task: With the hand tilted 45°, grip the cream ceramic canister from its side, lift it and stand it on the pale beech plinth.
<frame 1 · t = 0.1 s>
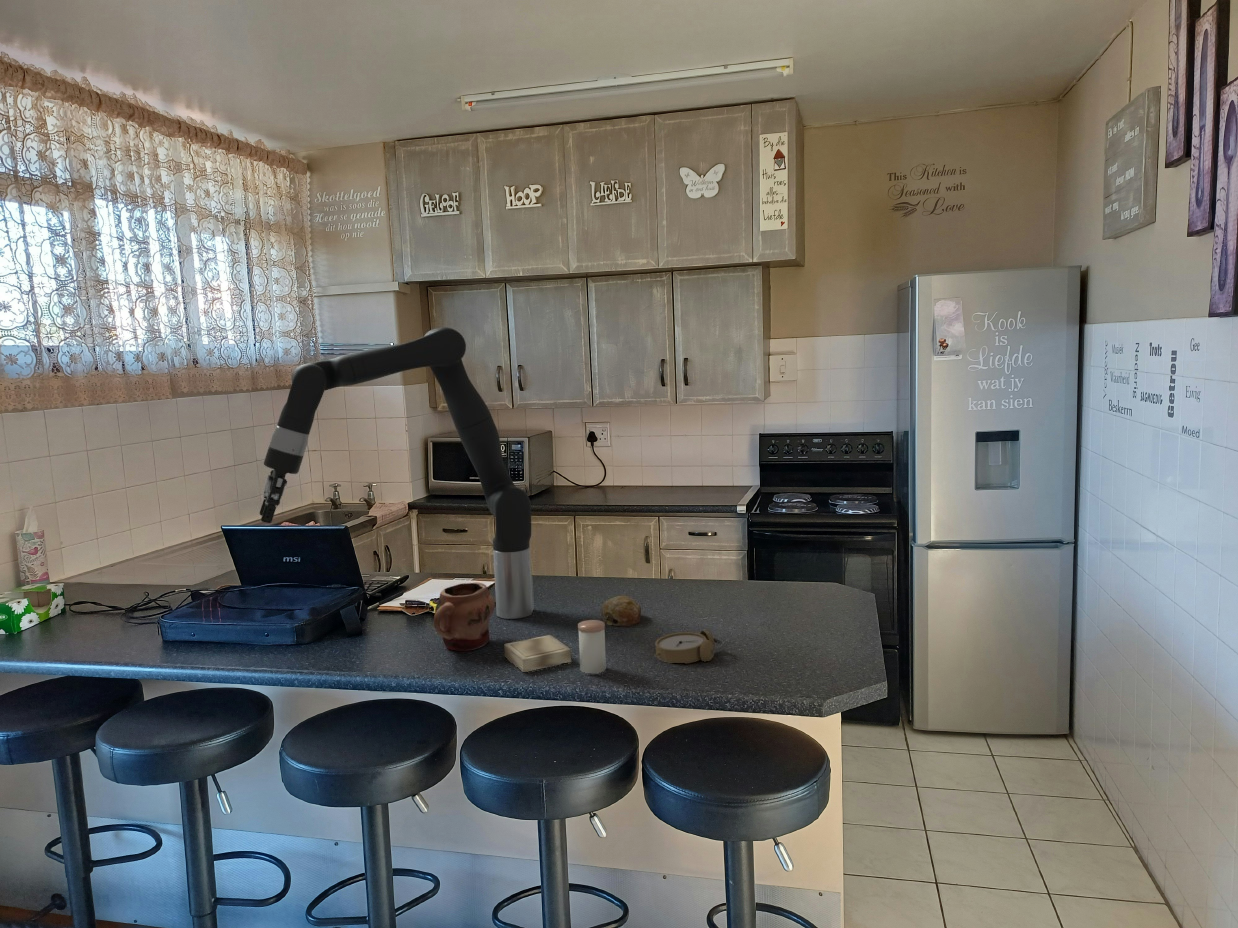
hand: (264, 518, 187), 32 cm above the countertop, tool tilted 20°, fingers open, 8 cm apart
plinth: (537, 659, 183), on the countertop
alarm clock: (689, 657, 183), on the countertop
bread roll: (622, 620, 208), on the countertop
canister: (593, 670, 176), on the countertop
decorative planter: (464, 648, 192), on the countertop
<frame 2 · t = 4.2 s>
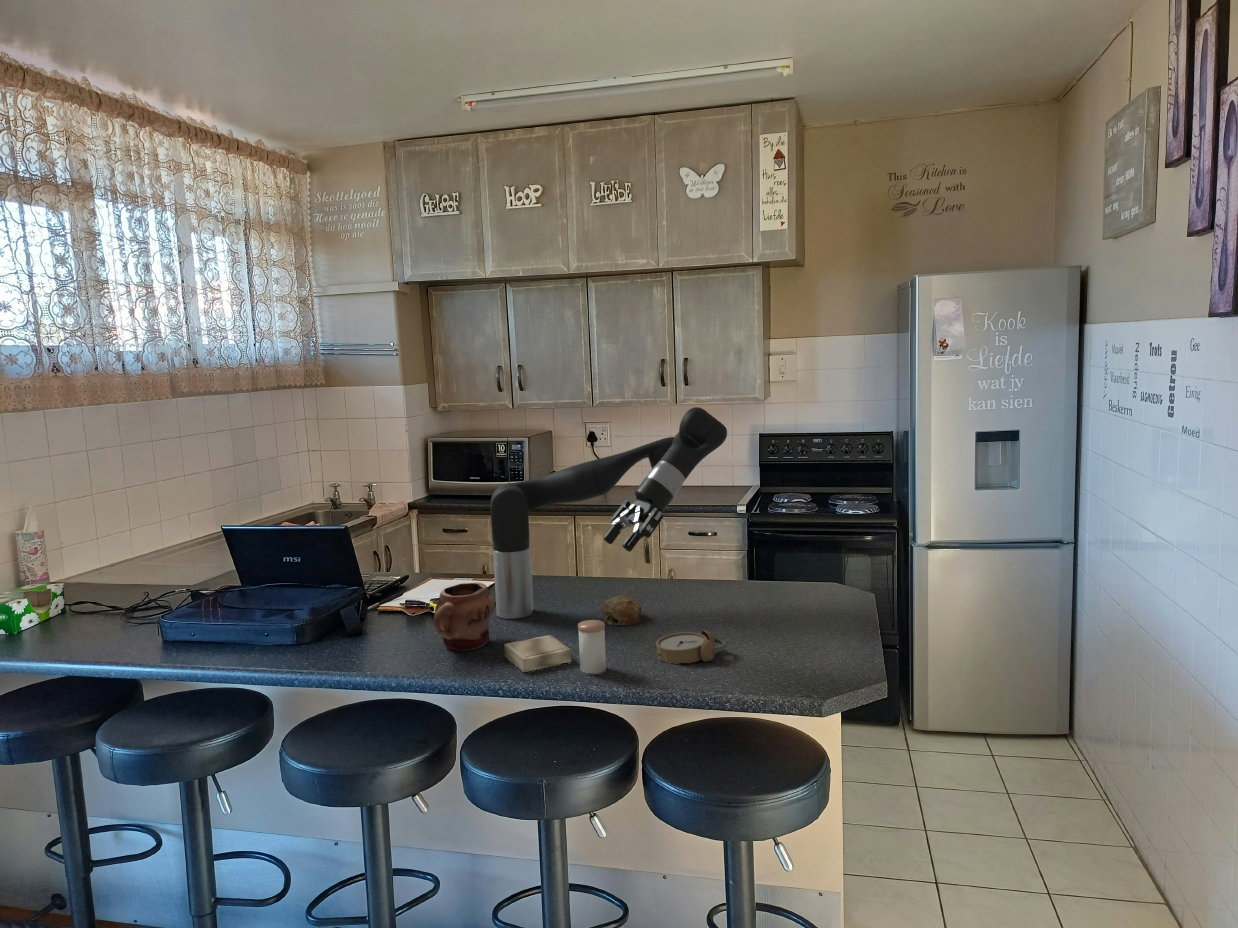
hand: (616, 545, 179), 25 cm above the countertop, tool tilted 45°, fingers open, 8 cm apart
nothing on the countertop moved.
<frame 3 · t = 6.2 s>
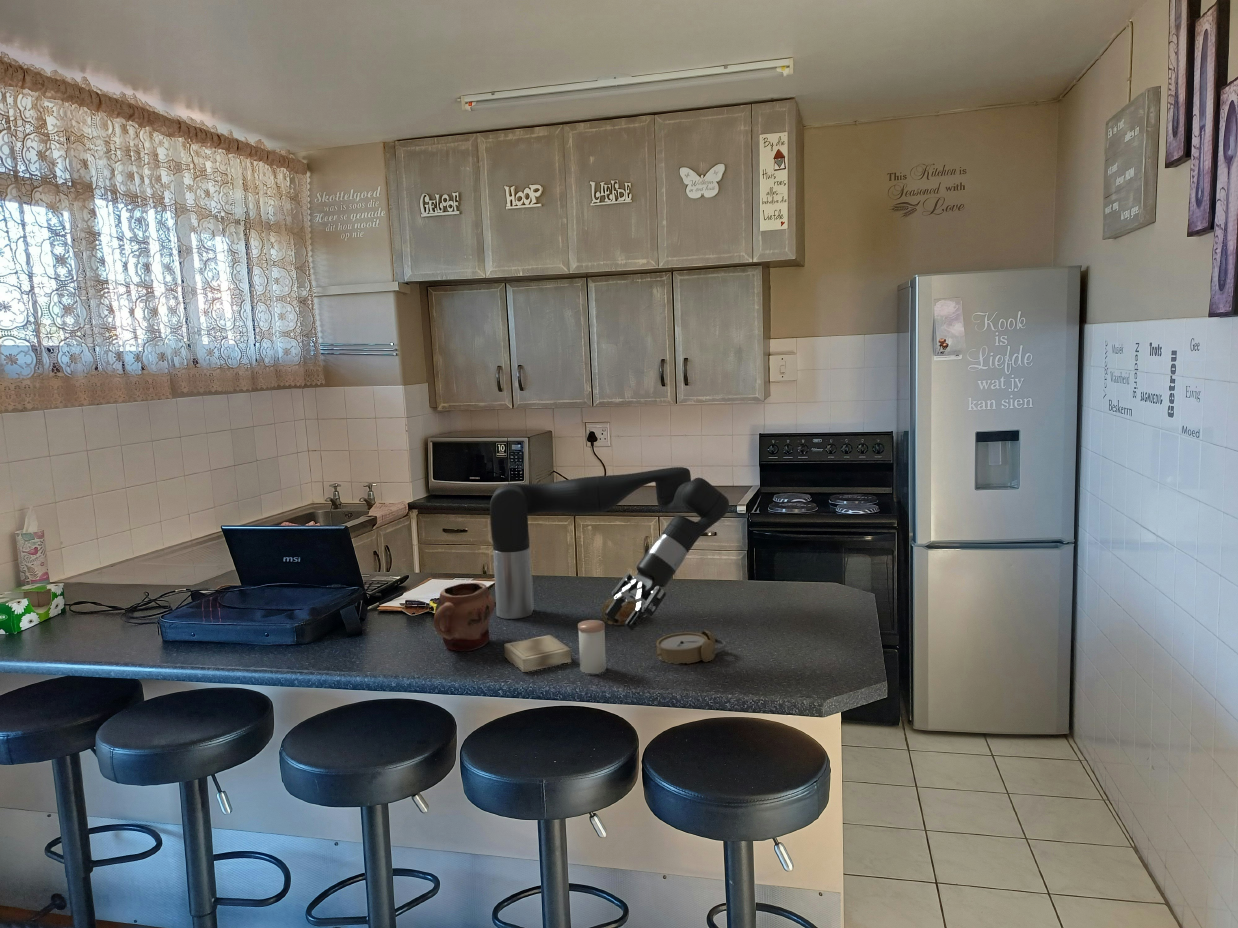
hand: (618, 622, 177), 10 cm above the countertop, tool tilted 45°, fingers open, 8 cm apart
nothing on the countertop moved.
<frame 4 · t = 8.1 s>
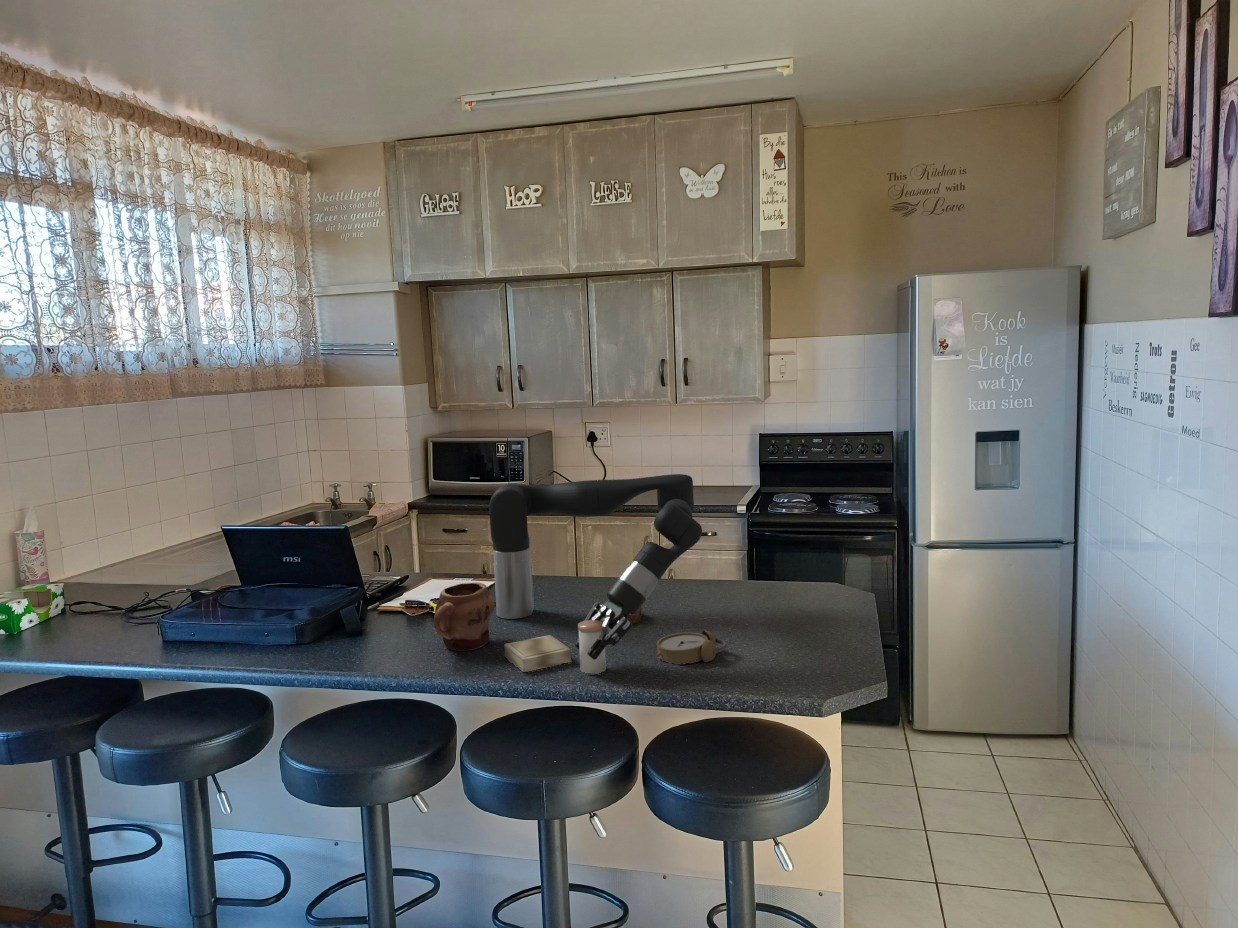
hand: (584, 652, 174), 4 cm above the countertop, tool tilted 45°, fingers closed on canister, 5 cm apart
canister: (593, 670, 176), on the countertop, touching gripper
everything else where it was.
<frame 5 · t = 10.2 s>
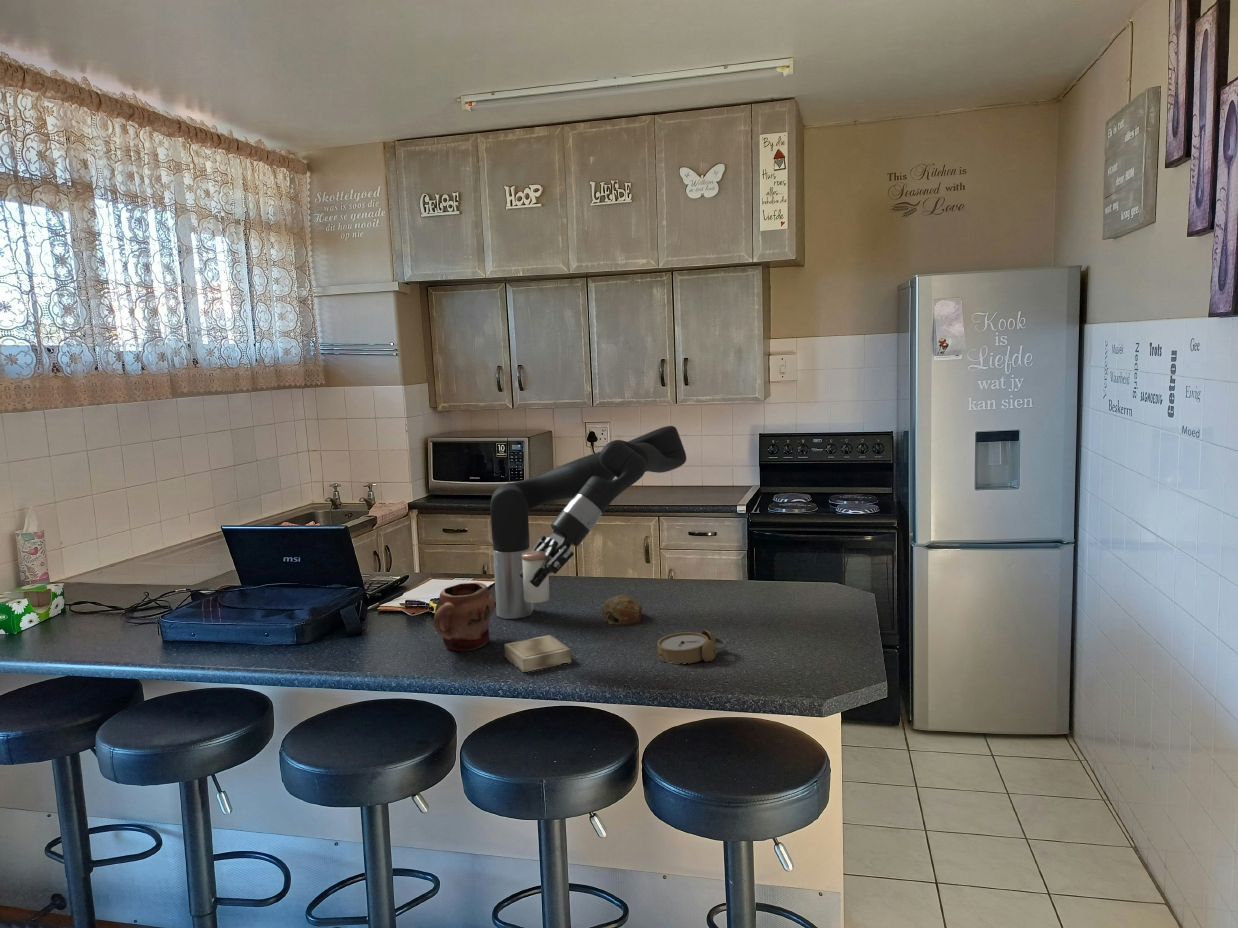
hand: (527, 581, 179), 18 cm above the countertop, tool tilted 45°, fingers closed on canister, 5 cm apart
canister: (536, 598, 180), point 14 cm above the countertop, touching gripper
everything else where it was.
when the fingers open (9 cm above the countertop, at t = 12.6 s): canister drops 1 cm, resting on plinth.
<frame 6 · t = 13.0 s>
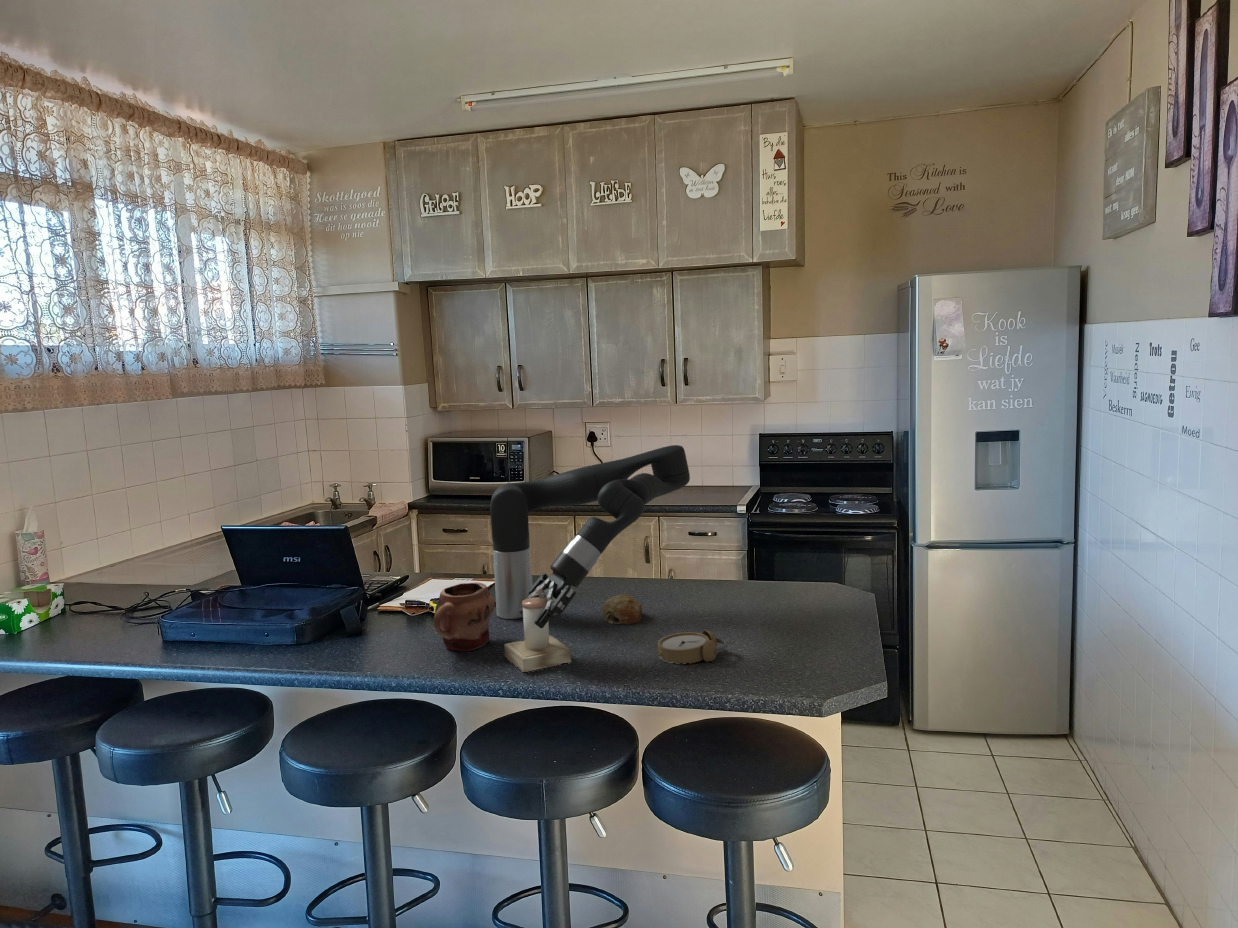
hand: (529, 620, 181), 9 cm above the countertop, tool tilted 45°, fingers open, 8 cm apart
canister: (537, 645, 182), point 3 cm above the countertop, touching plinth
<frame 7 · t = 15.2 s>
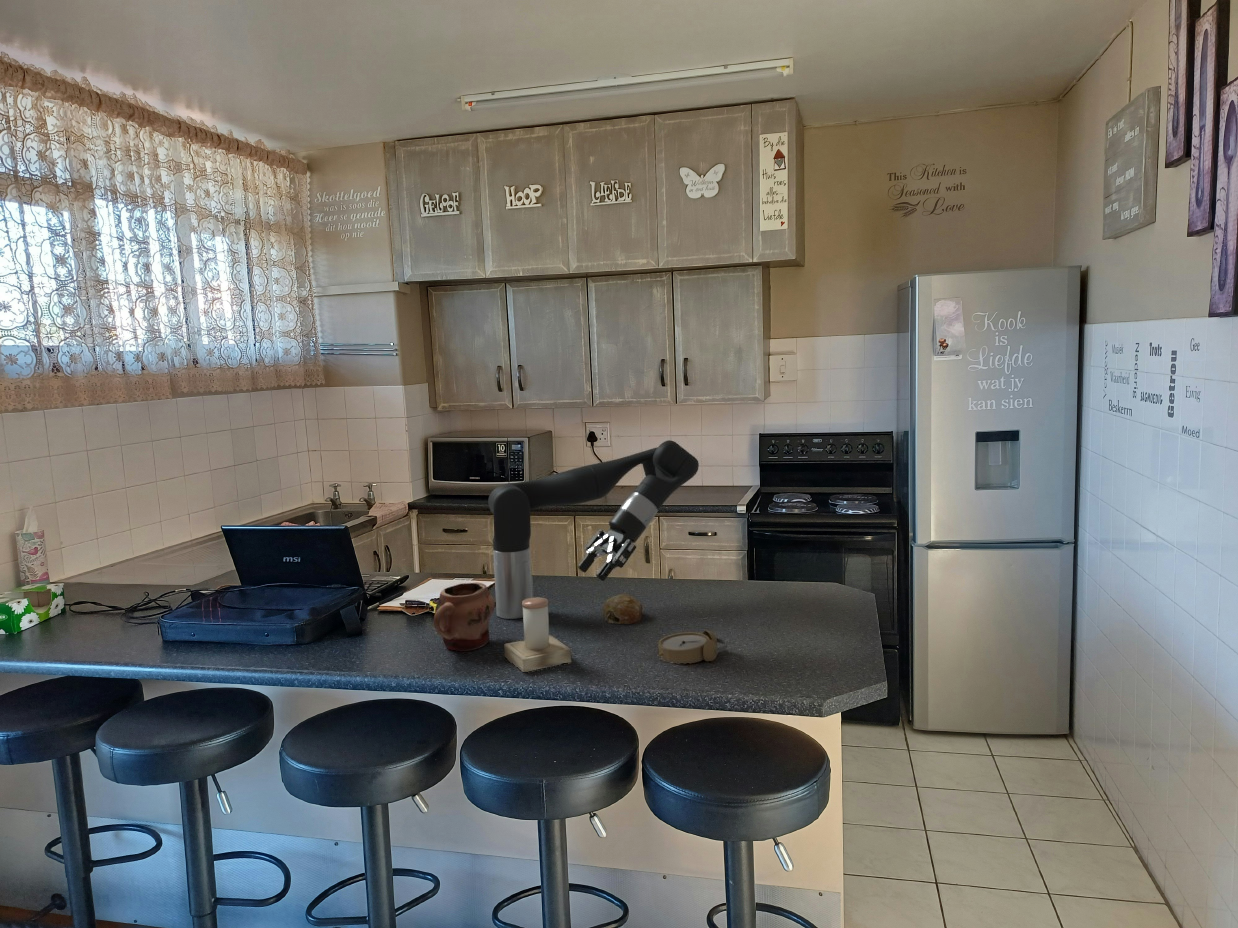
hand: (589, 574, 185), 17 cm above the countertop, tool tilted 45°, fingers open, 8 cm apart
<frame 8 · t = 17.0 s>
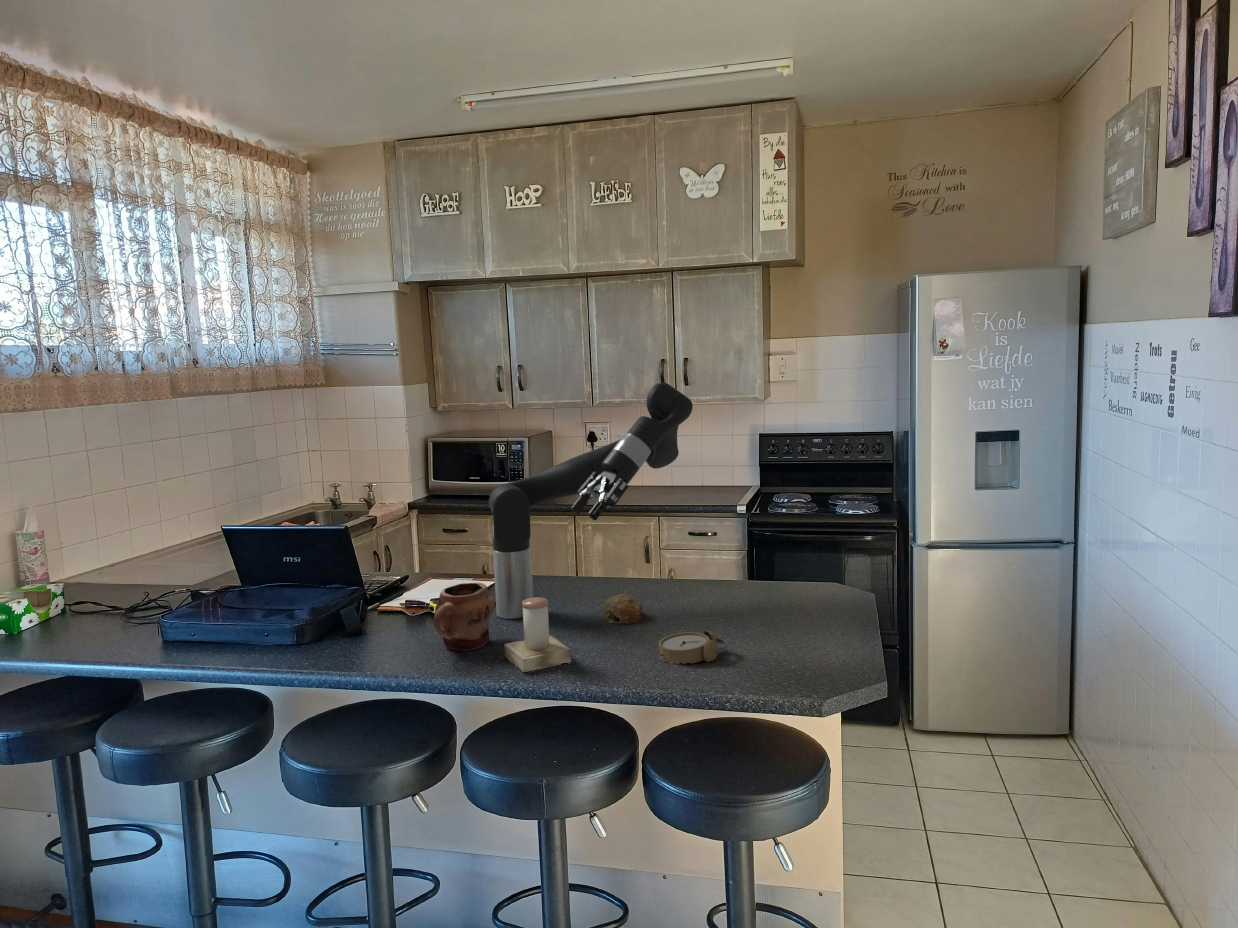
hand: (582, 514, 184), 31 cm above the countertop, tool tilted 45°, fingers open, 8 cm apart
at the end: canister inside the target area on the plinth (0.2 cm from its centre), point 3.1 cm above the plinth's base; canister tilted 0°; the gripper is holding nothing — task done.
